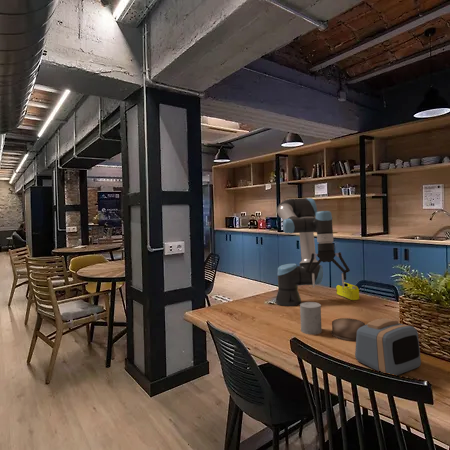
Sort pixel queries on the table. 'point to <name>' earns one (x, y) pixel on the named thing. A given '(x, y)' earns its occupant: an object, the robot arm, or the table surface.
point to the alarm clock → (388, 346)
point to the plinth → (346, 328)
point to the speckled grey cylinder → (310, 317)
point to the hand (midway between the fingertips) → (328, 287)
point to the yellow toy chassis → (348, 291)
